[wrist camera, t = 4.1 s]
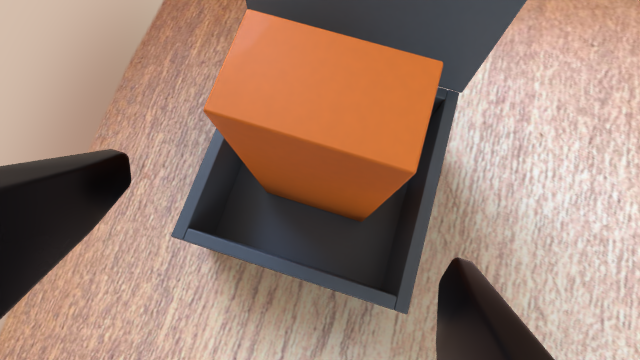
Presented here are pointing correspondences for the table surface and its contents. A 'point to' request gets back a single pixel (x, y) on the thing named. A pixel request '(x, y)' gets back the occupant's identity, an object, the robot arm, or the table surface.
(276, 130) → the plate
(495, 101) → the table surface
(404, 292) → the blue gray box
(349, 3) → the lid
